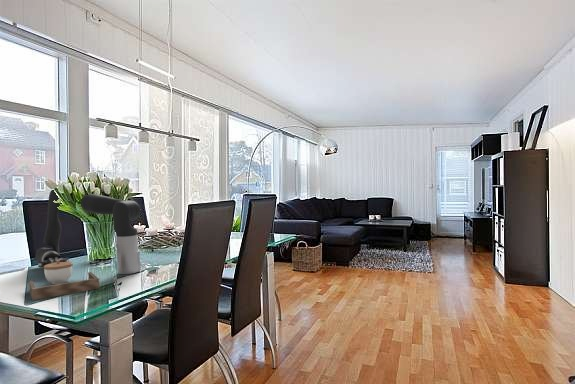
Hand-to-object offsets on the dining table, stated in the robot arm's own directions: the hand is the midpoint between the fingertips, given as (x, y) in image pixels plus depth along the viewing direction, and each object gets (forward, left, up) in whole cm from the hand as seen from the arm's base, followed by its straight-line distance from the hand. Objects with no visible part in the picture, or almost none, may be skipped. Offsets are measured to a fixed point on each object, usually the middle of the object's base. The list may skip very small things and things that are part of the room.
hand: (56, 265), depth 177 cm
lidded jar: (0, +8, -6) cm, 10 cm away
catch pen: (0, +23, -6) cm, 24 cm away
